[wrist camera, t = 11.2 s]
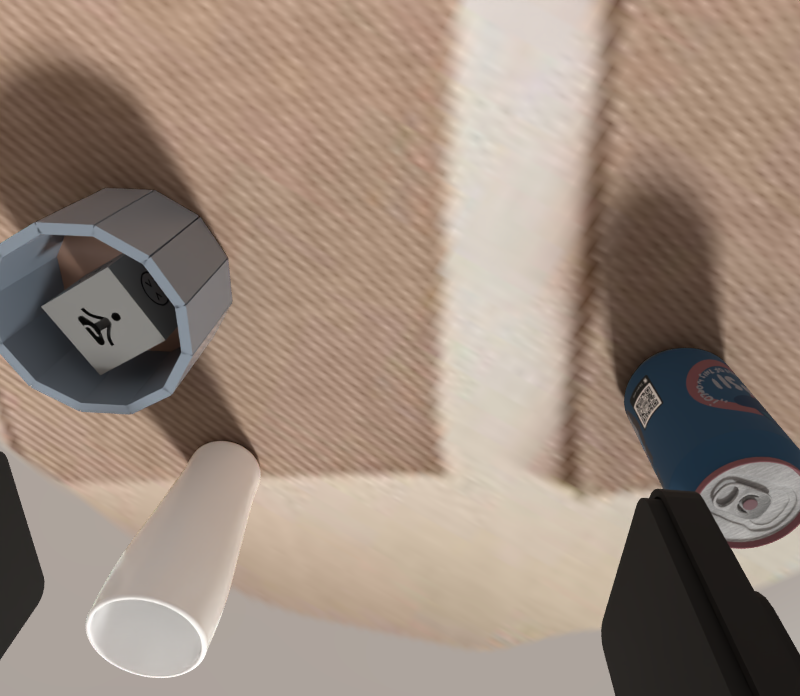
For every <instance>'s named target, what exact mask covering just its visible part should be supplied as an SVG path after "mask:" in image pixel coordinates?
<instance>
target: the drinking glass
mask: <svg viewBox="0 0 800 696" xmlns="http://www.w3.org/2000/svg"><path fill="white" fill-rule="evenodd" d="M260 478H261V471H260V467H259V464H258V462H257V460H256V458H255V457H254V456H253V454H252V453H251V452H249V451H248V450H247V449H246V448H244V447H242V446H240V445H238V444H236V443H233V442H228V441H214V442H210V443H207V444H205V445H203V446H201V447H200V448H199V449H197V450H196V451H195V452H194V454H193V455H192V457H191V458H190V460H189V462H188V464H187V465H186V467H185V469H184V470H183V472H182V473H181V474H180V476H179V477H178V479H177V480H176V481H175V483H174V484H173V485H172V487H171V488H170V490H169V491H168V492H167V494H166V495H165V496H164V498H163V499H162V501H161V502H160V503H159V505H158V506H157V507H156V509H155V510H154V511H153V513H152V514H151V515H150V517H149V518H148V520H147V521H146V522H145V524H144V525H143V526H142V528H141V529H140V530H139V532H138V533H137V534H136V536H135V537H134V538H133V540H132V541H131V543H130V544H129V546H128V547H127V548H126V550H125V551H124V553H123V554H122V555H121V557H120V559H119V560H118V562H117V563H116V565H115V566H114V568H113V570H112V571H111V573H110V575H109V576H108V578H107V580H106V582H105V583H104V585H103V587H102V589H101V591H100V593H99V594H98V596H97V598H96V600H95V602H94V604H93V606H92V608H91V610H90V612H89V613H88V616H87V619H86V633H87V636H88V639H89V641H90V643H91V645H92V646H93V647H94V649H95V650H96V651H97V652H98V653H99V654H100V655H101V656H102V657H103V658H104V659H106V660H107V661H108V662H110V663H111V664H113V665H115V666H116V667H118V668H120V669H122V670H125V671H127V672H130V673H133V674H136V675H140V676H145V677H154V678H167V677H174V676H178V675H182V674H185V673H187V672H189V671H191V670H192V669H194V668H195V667H196V666H198V665H199V664H200V663H201V661H202V660H203V659H204V656H205V655H206V652H207V650H208V647H209V645H210V643H211V640H212V638H213V636H214V633H215V631H216V629H217V626H218V623H219V621H220V618H221V615H222V613H223V610H224V607H225V604H226V601H227V598H228V595H229V591H230V588H231V584H232V581H233V577H234V573H235V569H236V565H237V561H238V557H239V553H240V549H241V545H242V541H243V538H244V534H245V530H246V526H247V522H248V518H249V515H250V511H251V507H252V503H253V500H254V496H255V494H256V491H257V489H258V486H259V483H260Z"/></svg>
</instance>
